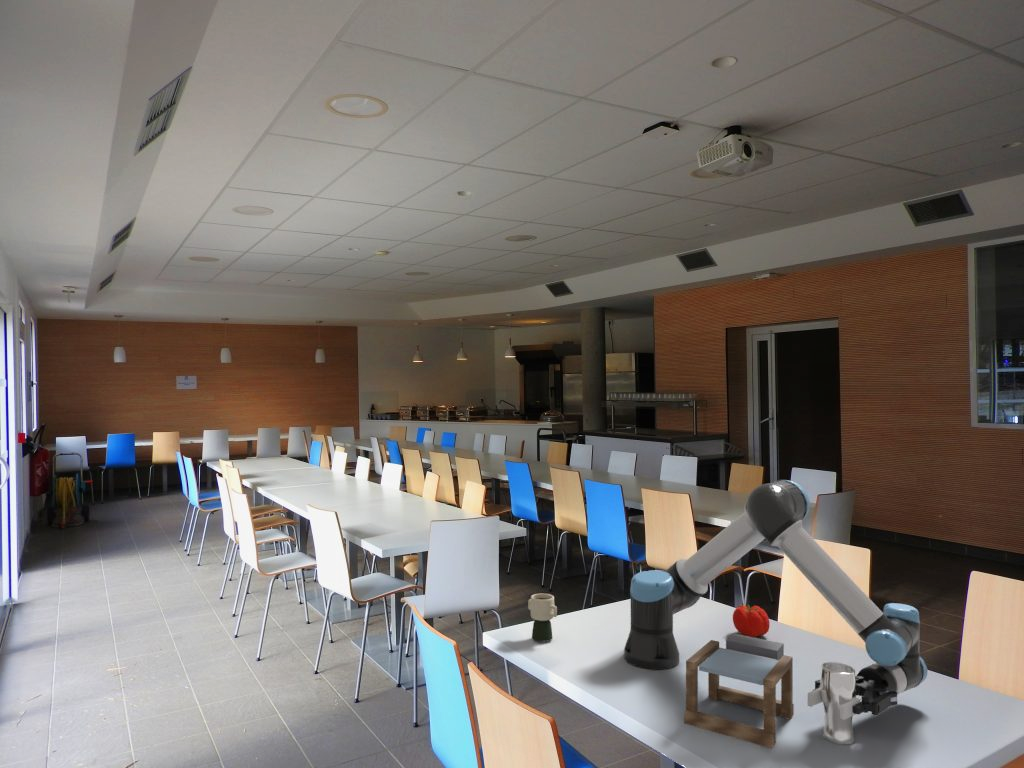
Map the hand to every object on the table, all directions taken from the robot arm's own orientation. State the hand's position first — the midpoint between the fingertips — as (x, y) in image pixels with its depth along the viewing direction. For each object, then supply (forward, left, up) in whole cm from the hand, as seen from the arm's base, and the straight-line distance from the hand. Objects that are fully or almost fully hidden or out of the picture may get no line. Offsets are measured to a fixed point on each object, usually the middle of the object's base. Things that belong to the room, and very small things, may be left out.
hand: (825, 706), depth 145 cm
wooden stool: (-18, +1, -8) cm, 20 cm away
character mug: (-82, +18, -8) cm, 85 cm away
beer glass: (+2, +5, -8) cm, 10 cm away
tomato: (-32, +60, -8) cm, 69 cm away
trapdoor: (-18, +5, +2) cm, 19 cm away
